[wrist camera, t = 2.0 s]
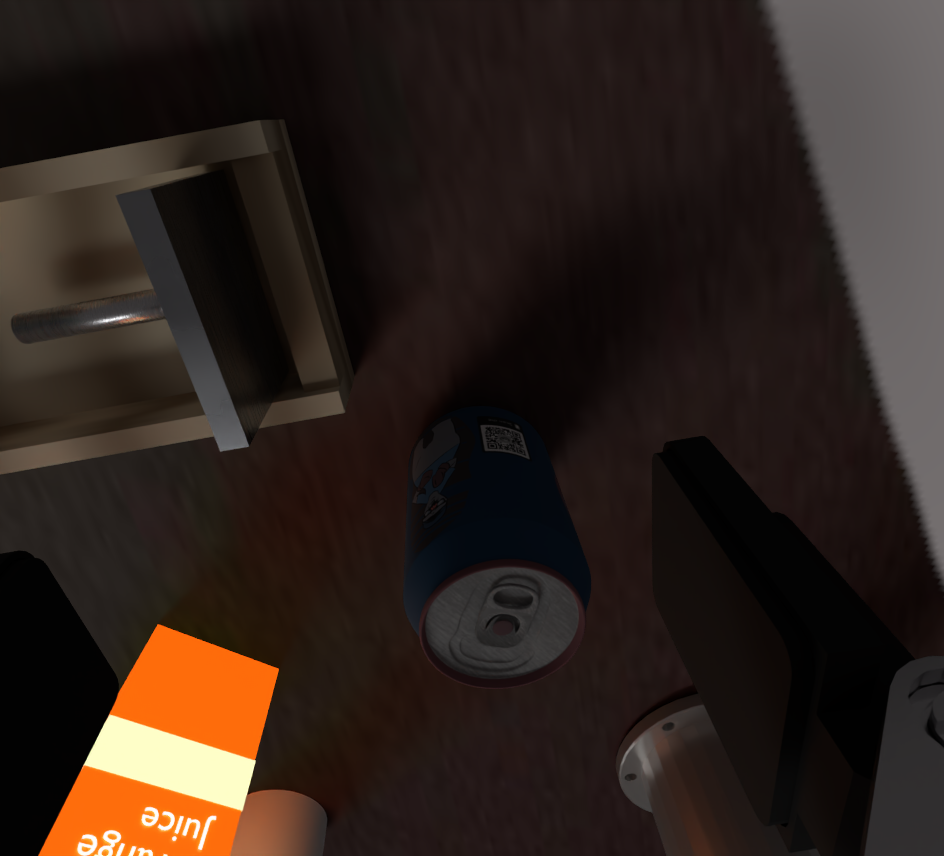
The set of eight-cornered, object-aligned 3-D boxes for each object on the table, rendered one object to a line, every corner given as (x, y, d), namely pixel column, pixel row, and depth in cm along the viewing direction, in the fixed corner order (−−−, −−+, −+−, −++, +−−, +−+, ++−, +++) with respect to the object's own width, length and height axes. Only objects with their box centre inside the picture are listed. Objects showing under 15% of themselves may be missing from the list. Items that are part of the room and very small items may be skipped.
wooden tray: (282, 112, 24) (245, 111, 19) (355, 381, 29) (341, 434, 24) (-168, 195, 24) (-319, 216, 19) (-13, 447, 29) (-101, 513, 24)
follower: (223, 169, 23) (150, 188, 17) (289, 370, 27) (249, 446, 21) (-7, 211, 23) (-162, 246, 17) (92, 406, 27) (-6, 491, 21)
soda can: (521, 522, 33) (565, 712, 23) (396, 499, 32) (382, 688, 22) (561, 411, 31) (634, 569, 20) (426, 381, 29) (427, 533, 19)
